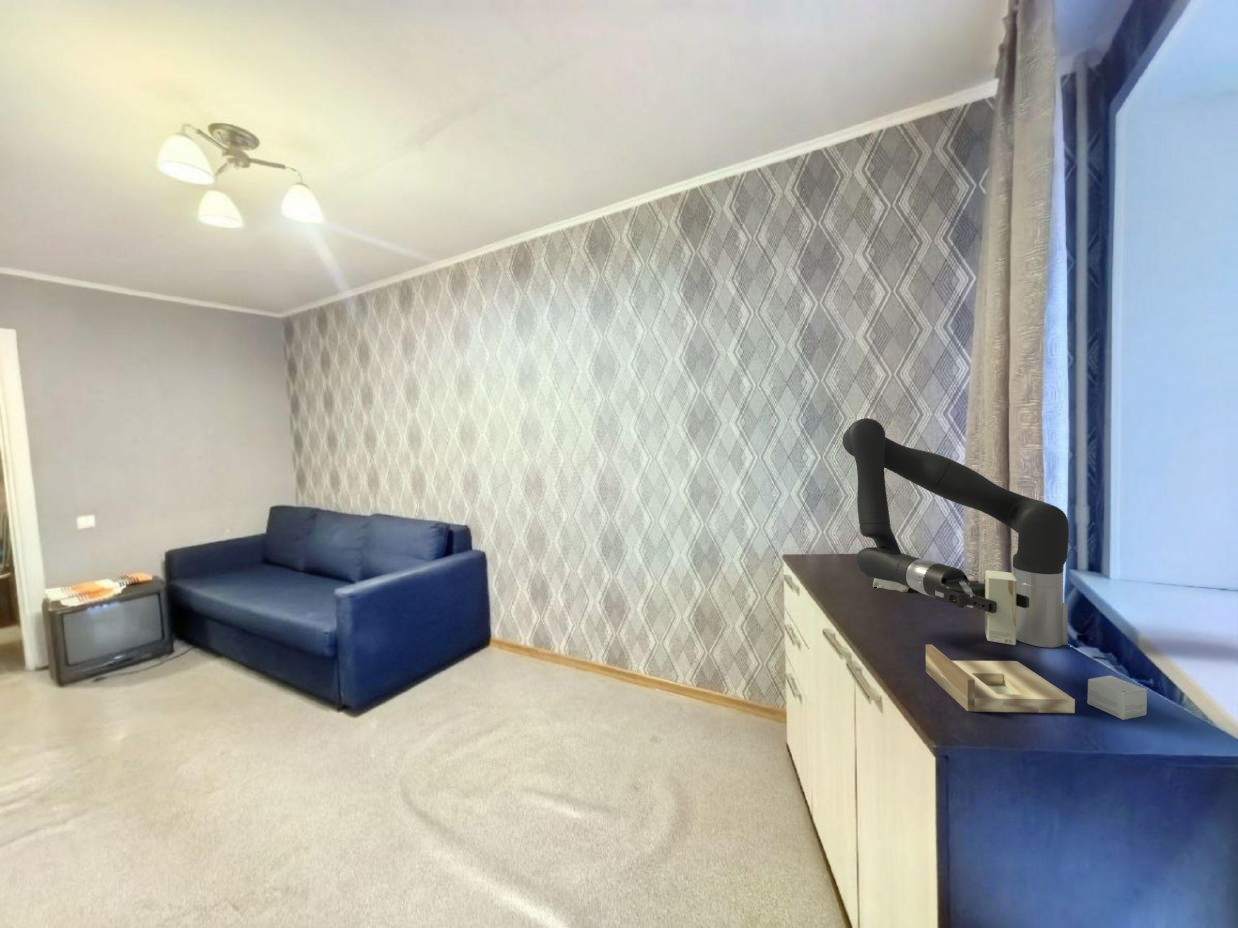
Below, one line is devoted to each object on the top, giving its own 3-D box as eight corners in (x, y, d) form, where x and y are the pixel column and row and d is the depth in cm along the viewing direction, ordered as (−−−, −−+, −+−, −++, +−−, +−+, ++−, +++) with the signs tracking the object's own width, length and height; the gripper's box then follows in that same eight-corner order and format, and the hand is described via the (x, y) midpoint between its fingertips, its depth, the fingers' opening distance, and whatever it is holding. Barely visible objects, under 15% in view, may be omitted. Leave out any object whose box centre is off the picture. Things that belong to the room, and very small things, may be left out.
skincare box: (1016, 646, 91) (1017, 580, 90) (987, 641, 94) (988, 577, 93) (1011, 633, 97) (1013, 571, 96) (984, 629, 99) (985, 568, 98)
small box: (1147, 715, 88) (1148, 688, 88) (1123, 721, 87) (1123, 693, 86) (1109, 699, 93) (1110, 673, 93) (1086, 703, 92) (1086, 678, 92)
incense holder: (871, 588, 161) (871, 557, 160) (879, 582, 167) (878, 551, 166) (905, 594, 154) (905, 561, 153) (912, 587, 160) (912, 555, 159)
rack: (1016, 672, 104) (1017, 644, 104) (1074, 712, 89) (1075, 680, 89) (925, 671, 106) (925, 644, 106) (967, 711, 91) (967, 679, 91)
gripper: (908, 566, 106) (981, 590, 90) (962, 559, 110) (1042, 581, 94) (908, 600, 107) (980, 630, 91) (961, 592, 110) (1041, 620, 94)
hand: (1011, 605), depth 93 cm, fingers closed on skincare box, 7 cm apart
